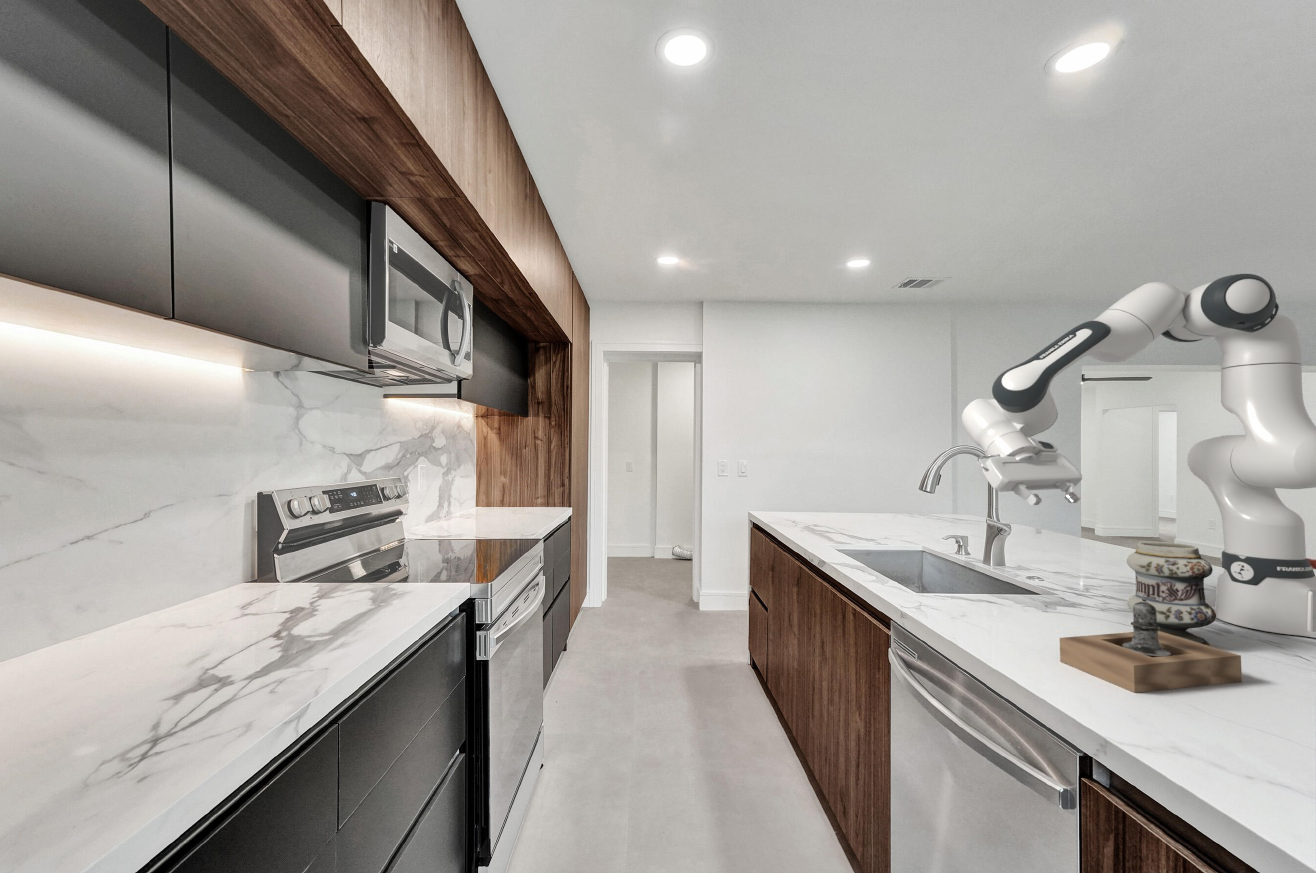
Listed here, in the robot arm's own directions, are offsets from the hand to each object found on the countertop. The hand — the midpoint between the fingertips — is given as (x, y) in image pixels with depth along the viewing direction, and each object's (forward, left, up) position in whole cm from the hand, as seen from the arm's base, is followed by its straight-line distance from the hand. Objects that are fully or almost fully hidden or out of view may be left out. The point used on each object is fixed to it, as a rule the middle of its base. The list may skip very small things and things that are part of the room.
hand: (1056, 502), depth 108 cm
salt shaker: (+6, +21, -26) cm, 34 cm away
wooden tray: (+6, +21, -25) cm, 33 cm away
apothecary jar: (-14, +10, -26) cm, 31 cm away
